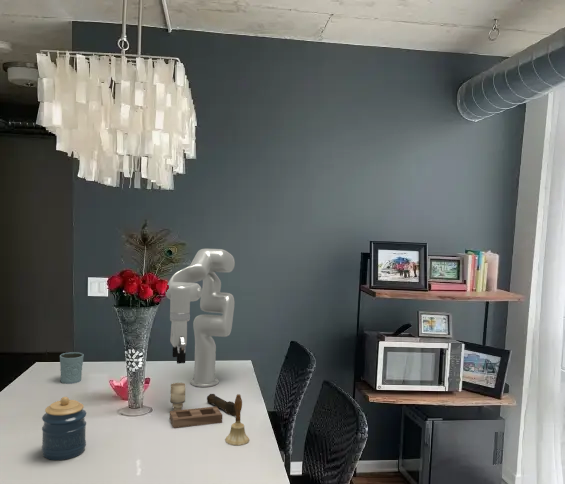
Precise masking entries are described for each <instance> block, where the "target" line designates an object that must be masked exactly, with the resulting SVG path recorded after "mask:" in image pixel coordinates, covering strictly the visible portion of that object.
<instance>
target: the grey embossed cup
mask: <svg viewBox="0 0 565 484" xmlns="http://www.w3.org/2000/svg"><path fill="white" fill-rule="evenodd" d="M83 363H84V353H83V352H78V351H77V352H76V351H75V352H74V351H72V352H71V351H70V352H65V353H64V352H63V353H61V354H60V355H59V366H60V369H59V370H60V383H61V384H65V385H66V384H67V385H70V384H71V385H72V384H77V383H80V382H81V380H82V375H83V374H82V373H83V372H82V371H83V365H84V364H83Z"/></svg>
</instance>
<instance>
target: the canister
mask: <svg viewBox="0 0 565 484" xmlns="http://www.w3.org/2000/svg"><path fill="white" fill-rule="evenodd" d="M84 408H85V407H84V404H83V403H81V402H79V401H78V400H76V399H70V397H68V396H63V397H62V398H60V400H57V401H55V402H52V403H51V404H50V405H48V406H47V407H46V408H45V409H44V410H45V413H44V414H43V415H42V417H41V420H42V421H43V425H42V427H41V431H42V439H41V440H42V443H41V452H42V457H43V458H45V459H48V460H53V461H62V460H68V459H72V458H76V457H78V456H79V455H81V454H83V453H84V452H85V449H86V445H87V441H86V425H87V421H86V419H85V417H86V416H87V412H86V410H85V409H84Z"/></svg>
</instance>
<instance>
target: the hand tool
mask: <svg viewBox="0 0 565 484" xmlns="http://www.w3.org/2000/svg"><path fill="white" fill-rule="evenodd" d="M206 401H207V403H208V404H209V405H213V406H214V407H215V406H217V408H218V409H221V410H222V411H225V414H227V415H230V416H234V417H236V411H235V402H233V401H227V400H224V399H223V398H221V397H218V396H217V395H216V394H215V393H209V395H207V396H206Z"/></svg>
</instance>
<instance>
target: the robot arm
mask: <svg viewBox="0 0 565 484" xmlns="http://www.w3.org/2000/svg"><path fill="white" fill-rule="evenodd" d="M235 261H236V260H235V257H234V256H233V254H231V253H230V252H228V251H227V250H225V249H221V248H201V249H199V250H198V251H197V252H196V254H195V256H194V257H193V259H192V261H191V263H190V264H189V265H188V266H187V267H183V268H182V269H181V270H178V271H176V272H175V273H174V274H172V276H171V277H170V279H169V280H168V282H167V285H169V289H168V290H167V292H166V291H165V296H166V298H167V299H169V300H170V301H169V302H170V307H169V308H170V310H169V321H170V322H171V325H170V326H171V327H170V344H171V345H172V358H176V364H179V365H180V364H186V347H187V342H188V322H189V321H190V319H191V318H190V317H191V315H190V314H191V313H190V311H191V310H190V309H191V302H197V301H198V300H200V301H199V302H200V303H199V307H200V311H203V312H205V313H207V314H199V315H197V316H195V318H194V320H193V324H192V325H193V334H194V365H193V366H194V367H193V370H194V371H193V373H194V374H193V378H191V379H190V385H191V386H193V387H194V386H195V387H197V388H208V387H214V386H217V385H218V383H219V379H218V378H216V358H217V356H216V353H217V346H216V342H215V339H214V338H213V337H220V338H221V337H222V338H226V337H228V336H230V335H231V332H232V328H233V319H234V312H235V298H234V297H235V296H234V295H233V294H232V293H230V292H221V290H222V289H221V288H222V281H221V279H220V278H219V276H218V275H217V274H216V273H231V272H232V271H234V269H235V265H236V263H235ZM201 281H202V287H201V285H200V284H199V283H198V282H201ZM208 313H214V314H208ZM216 314H217V315H216ZM218 314H221V315H218Z"/></svg>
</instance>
